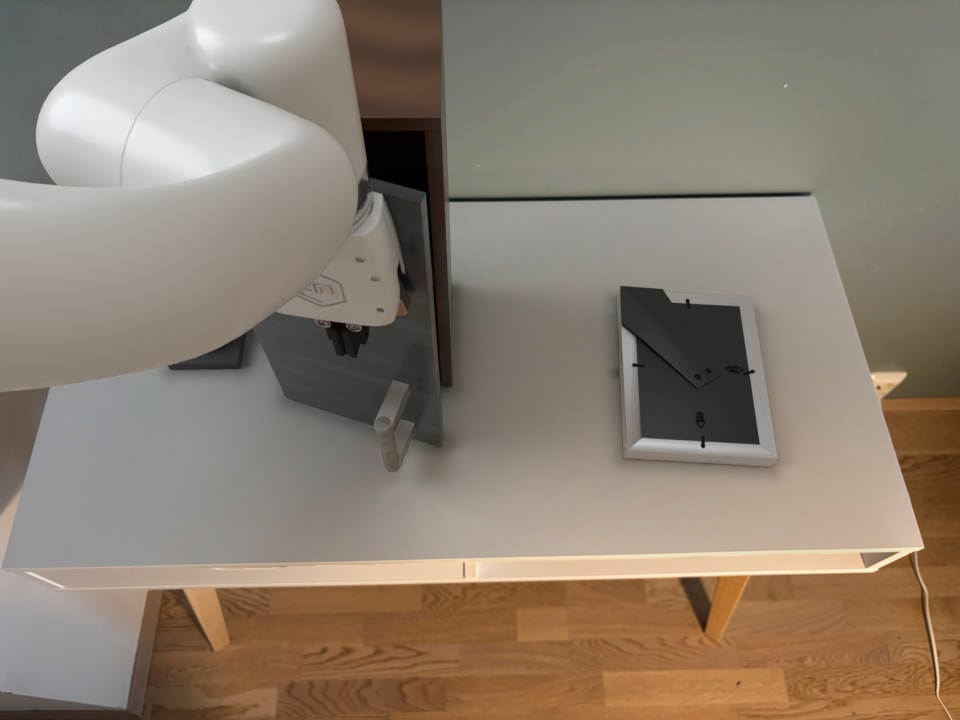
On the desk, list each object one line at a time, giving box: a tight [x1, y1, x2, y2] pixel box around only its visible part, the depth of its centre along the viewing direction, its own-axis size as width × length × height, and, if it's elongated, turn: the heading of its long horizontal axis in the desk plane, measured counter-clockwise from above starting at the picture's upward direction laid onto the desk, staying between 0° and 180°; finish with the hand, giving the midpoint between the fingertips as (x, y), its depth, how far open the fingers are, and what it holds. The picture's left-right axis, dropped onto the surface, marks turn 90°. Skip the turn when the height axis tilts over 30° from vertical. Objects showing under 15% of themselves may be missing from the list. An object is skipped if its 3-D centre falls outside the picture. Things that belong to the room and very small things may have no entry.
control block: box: [167, 332, 247, 370], centre depth 85 cm, size 10×8×3 cm
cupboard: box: [336, 0, 454, 387], centre depth 69 cm, size 14×18×38 cm
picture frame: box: [616, 285, 779, 468], centre depth 82 cm, size 16×3×21 cm
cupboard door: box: [252, 178, 445, 473], centre depth 63 cm, size 6×18×38 cm, turn 71°
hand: (351, 341), depth 60 cm, fingers closed
